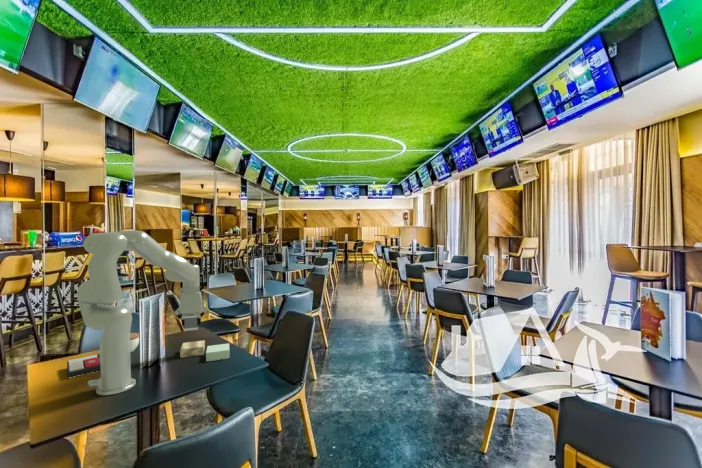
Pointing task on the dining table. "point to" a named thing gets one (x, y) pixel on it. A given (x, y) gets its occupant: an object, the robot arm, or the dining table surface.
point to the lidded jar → (134, 341)
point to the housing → (190, 322)
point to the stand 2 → (217, 352)
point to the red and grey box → (83, 365)
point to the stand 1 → (192, 349)
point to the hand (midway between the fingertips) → (191, 326)
